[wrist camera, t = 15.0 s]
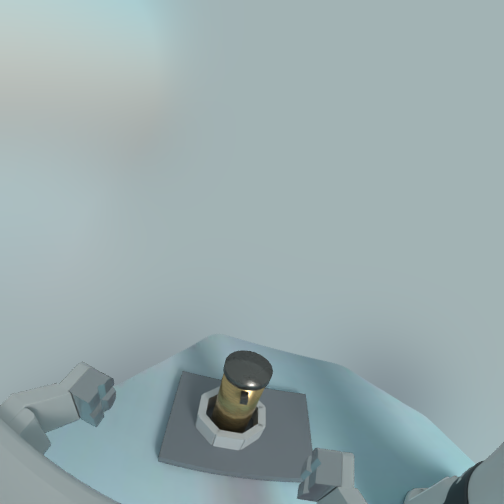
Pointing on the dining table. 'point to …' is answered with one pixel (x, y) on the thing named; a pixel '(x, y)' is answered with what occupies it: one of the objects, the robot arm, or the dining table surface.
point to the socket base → (237, 434)
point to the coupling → (240, 390)
